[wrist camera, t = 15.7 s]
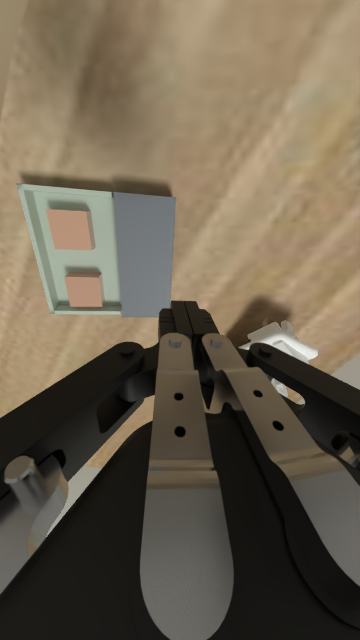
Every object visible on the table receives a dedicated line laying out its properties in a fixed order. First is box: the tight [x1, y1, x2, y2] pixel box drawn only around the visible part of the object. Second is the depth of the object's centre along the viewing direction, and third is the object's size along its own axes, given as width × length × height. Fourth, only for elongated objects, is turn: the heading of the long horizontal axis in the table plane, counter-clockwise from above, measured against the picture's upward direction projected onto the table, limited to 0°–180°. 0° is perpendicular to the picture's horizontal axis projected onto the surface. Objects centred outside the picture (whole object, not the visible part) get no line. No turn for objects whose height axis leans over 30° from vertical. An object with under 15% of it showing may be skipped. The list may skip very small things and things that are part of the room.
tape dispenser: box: [238, 320, 318, 398], centre depth 42 cm, size 20×11×13 cm, turn 144°
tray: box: [16, 183, 122, 314], centre depth 31 cm, size 18×11×3 cm, turn 176°
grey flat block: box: [113, 192, 176, 317], centre depth 32 cm, size 18×8×4 cm, turn 176°
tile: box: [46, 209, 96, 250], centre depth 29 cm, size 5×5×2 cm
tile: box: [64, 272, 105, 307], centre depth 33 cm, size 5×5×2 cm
